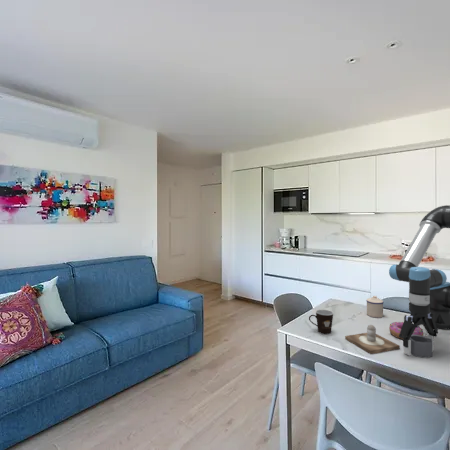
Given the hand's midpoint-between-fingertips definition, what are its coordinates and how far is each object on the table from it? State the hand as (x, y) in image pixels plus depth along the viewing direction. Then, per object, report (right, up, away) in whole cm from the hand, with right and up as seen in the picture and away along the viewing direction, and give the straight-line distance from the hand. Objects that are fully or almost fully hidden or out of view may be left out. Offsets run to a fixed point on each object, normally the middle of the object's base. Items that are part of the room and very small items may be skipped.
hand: (418, 352), depth 124 cm
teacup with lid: (+5, +1, +47) cm, 48 cm away
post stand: (-16, 0, +9) cm, 18 cm away
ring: (0, 0, 0) cm, 0 cm away
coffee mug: (-34, 0, +24) cm, 42 cm away
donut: (+5, 0, +17) cm, 18 cm away
